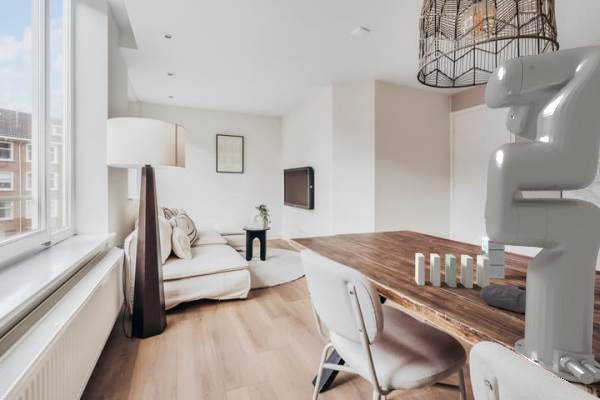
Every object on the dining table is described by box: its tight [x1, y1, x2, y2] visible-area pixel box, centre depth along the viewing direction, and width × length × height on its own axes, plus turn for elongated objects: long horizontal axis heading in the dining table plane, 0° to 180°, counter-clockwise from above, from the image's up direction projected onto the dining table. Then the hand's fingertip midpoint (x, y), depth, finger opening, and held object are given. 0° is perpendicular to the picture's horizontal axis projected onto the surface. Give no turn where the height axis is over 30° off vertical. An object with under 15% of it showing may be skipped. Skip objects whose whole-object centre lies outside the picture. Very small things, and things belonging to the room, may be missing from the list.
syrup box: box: [481, 236, 506, 280], centre depth 104 cm, size 6×6×14 cm
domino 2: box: [429, 253, 442, 287], centre depth 97 cm, size 5×2×10 cm, turn 169°
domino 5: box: [475, 254, 491, 289], centre depth 94 cm, size 5×2×10 cm, turn 169°
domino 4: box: [460, 254, 474, 289], centre depth 95 cm, size 5×2×10 cm, turn 169°
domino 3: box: [444, 253, 458, 288], centre depth 96 cm, size 5×2×10 cm, turn 168°
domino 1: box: [414, 252, 426, 286], centre depth 98 cm, size 5×2×10 cm, turn 169°
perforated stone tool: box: [479, 284, 526, 314], centre depth 77 cm, size 15×5×7 cm, turn 51°
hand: (503, 242), depth 93 cm, fingers closed
